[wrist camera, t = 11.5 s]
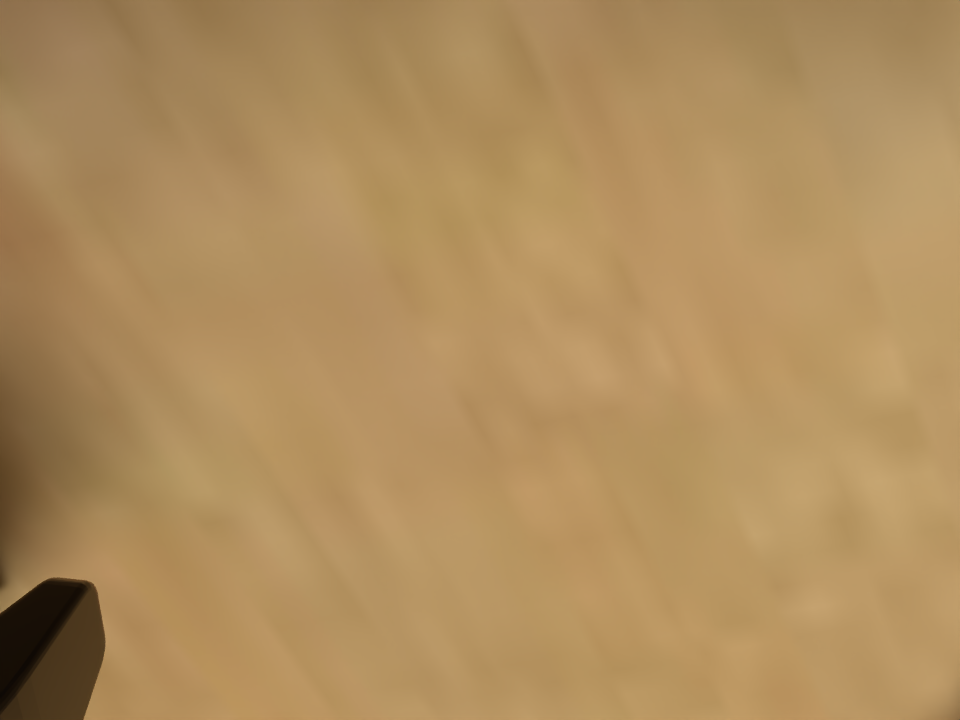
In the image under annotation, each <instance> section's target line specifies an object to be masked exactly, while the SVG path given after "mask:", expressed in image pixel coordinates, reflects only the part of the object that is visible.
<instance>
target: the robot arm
mask: <svg viewBox="0 0 960 720" xmlns="http://www.w3.org/2000/svg"><path fill="white" fill-rule="evenodd" d="M104 652H105V633H104V627H103V622H102V616H101V610H100V604H99V599H98V593H97V590H96V587H95V586H94V584H92V583H91V582H89V581H86V580H76V579H67V578H50V579H47V580H45V581H43V582H42V583H40V584H39V585H37V586H36V587H35V588H33V589H32V590H31V591H29V592H28V593H27V594H25V595H24V596H23V597H22V598H20V599H19V600H18V601H16V602H15V603H14V604H12V605H11V606H10V607H8V608H7V609H6V610H4V611H3V612H2V613H0V720H83V719H84V716H85V713H86V710H87V707H88V704H89V701H90V698H91V695H92V692H93V689H94V686H95V683H96V680H97V677H98V674H99V671H100V668H101V665H102V661H103V657H104Z"/></svg>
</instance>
